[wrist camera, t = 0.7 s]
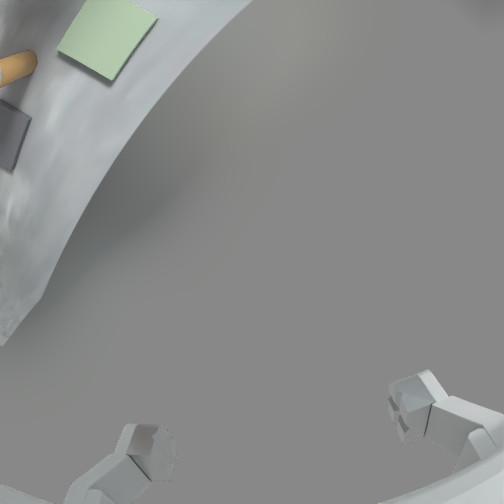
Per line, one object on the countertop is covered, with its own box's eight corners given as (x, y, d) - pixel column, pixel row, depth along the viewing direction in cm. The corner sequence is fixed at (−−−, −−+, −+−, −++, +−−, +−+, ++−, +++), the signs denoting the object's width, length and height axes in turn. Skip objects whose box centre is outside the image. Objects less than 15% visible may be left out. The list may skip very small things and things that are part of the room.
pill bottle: (12, 69, 37) (-30, 89, 27) (23, 46, 34) (-20, 60, 24) (30, 79, 39) (-11, 100, 29) (41, 55, 37) (0, 71, 27)
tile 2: (60, 48, 37) (56, 49, 36) (100, -14, 31) (97, -15, 30) (114, 79, 43) (111, 80, 42) (158, 18, 38) (156, 17, 36)
